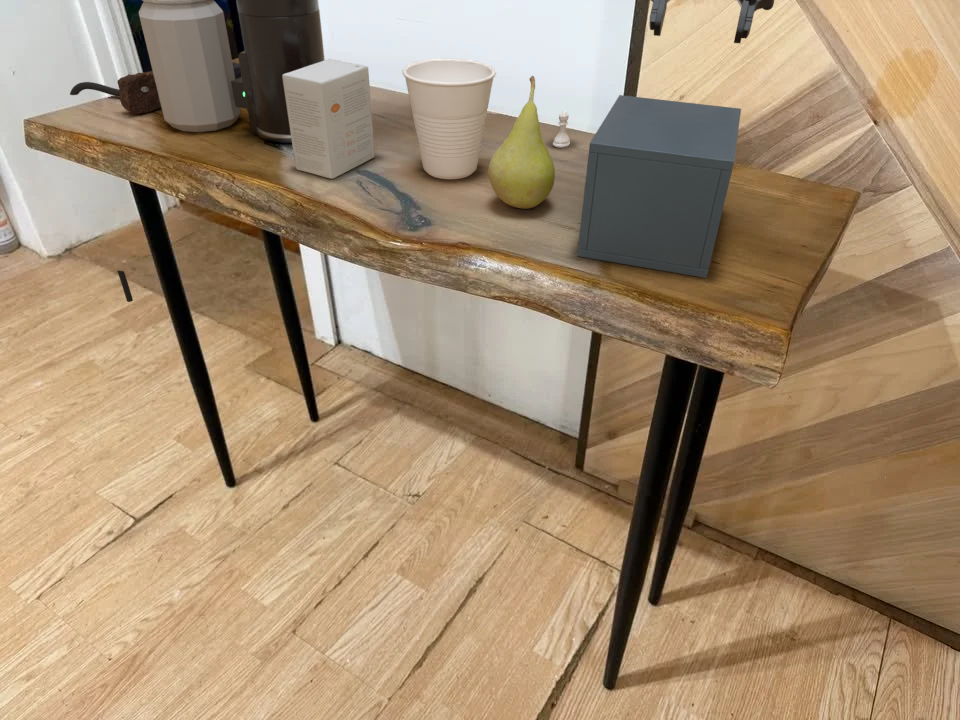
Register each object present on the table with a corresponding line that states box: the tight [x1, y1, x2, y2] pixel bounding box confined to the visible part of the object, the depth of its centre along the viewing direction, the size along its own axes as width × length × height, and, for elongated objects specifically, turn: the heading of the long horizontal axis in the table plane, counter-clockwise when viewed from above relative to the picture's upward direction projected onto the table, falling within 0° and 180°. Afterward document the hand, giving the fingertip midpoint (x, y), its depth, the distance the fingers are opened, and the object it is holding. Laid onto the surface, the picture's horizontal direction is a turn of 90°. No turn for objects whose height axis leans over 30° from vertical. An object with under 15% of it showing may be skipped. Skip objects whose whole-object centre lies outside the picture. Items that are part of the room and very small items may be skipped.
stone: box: [117, 70, 162, 114], centre depth 96 cm, size 8×3×5 cm, turn 147°
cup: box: [401, 57, 497, 180], centre depth 78 cm, size 10×10×11 cm
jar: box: [138, 0, 242, 133], centre depth 88 cm, size 10×10×18 cm
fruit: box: [488, 75, 556, 210], centre depth 71 cm, size 7×8×12 cm
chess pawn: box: [552, 111, 571, 149], centre depth 88 cm, size 3×2×4 cm
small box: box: [282, 58, 376, 180], centre depth 79 cm, size 8×6×10 cm
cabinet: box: [576, 94, 742, 279], centre depth 66 cm, size 15×12×11 cm
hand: (697, 35), depth 76 cm, fingers open, 8 cm apart
